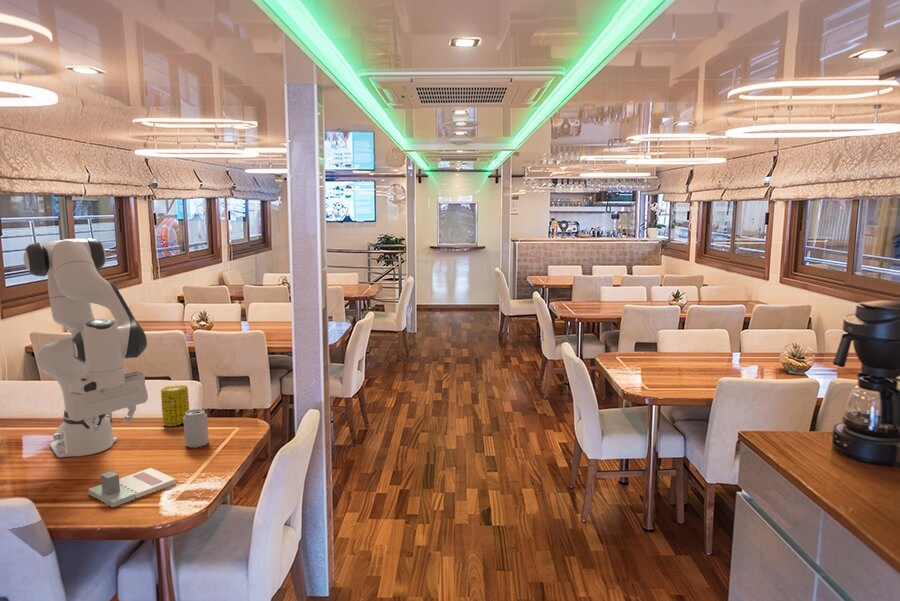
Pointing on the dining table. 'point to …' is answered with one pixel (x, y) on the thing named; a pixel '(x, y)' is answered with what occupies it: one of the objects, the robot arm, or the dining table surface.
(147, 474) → the spiral notepad
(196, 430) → the can
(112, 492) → the stub
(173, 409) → the food
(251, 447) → the dining table surface
